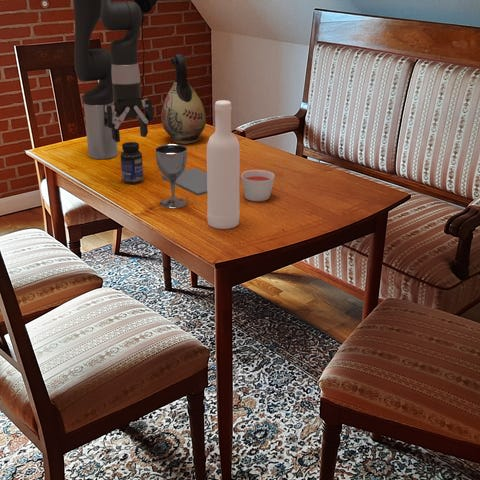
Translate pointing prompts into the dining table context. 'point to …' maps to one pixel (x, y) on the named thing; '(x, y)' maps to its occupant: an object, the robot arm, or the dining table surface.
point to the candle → (257, 184)
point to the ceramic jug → (182, 108)
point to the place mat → (192, 181)
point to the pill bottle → (131, 163)
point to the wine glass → (172, 169)
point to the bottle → (223, 171)
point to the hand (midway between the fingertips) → (130, 139)
